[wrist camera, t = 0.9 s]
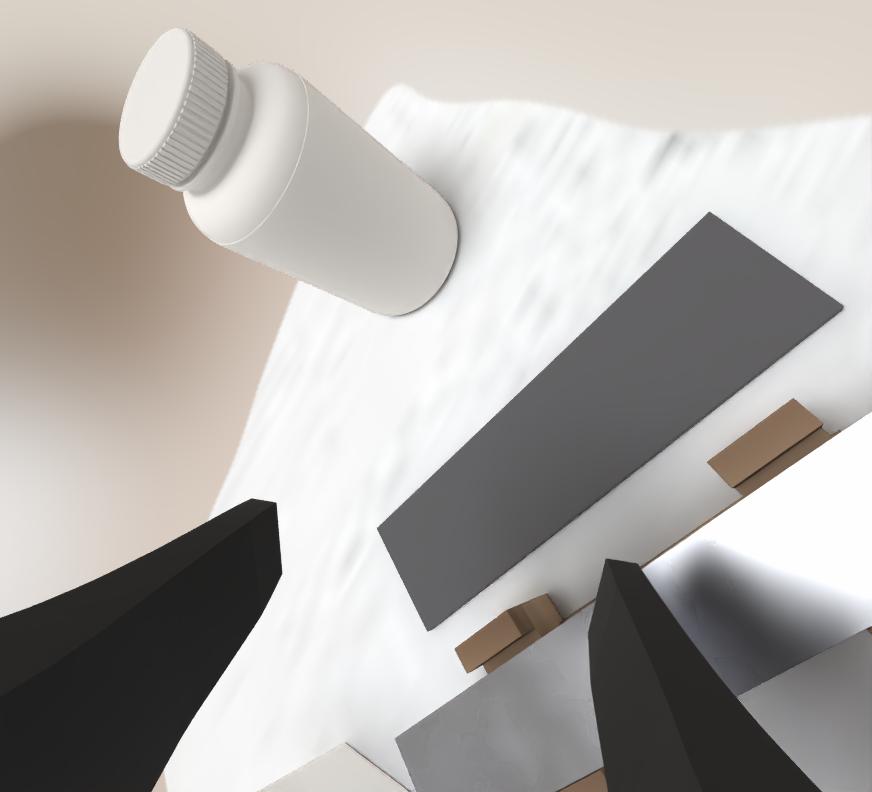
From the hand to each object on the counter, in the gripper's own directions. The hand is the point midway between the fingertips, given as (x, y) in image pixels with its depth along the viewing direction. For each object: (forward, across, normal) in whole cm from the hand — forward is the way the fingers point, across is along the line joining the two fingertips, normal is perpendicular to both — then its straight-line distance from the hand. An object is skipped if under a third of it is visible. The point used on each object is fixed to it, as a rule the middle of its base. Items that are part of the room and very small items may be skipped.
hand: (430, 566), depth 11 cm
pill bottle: (+22, +6, -4) cm, 23 cm away
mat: (+12, -4, +3) cm, 13 cm away
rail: (+5, -8, +5) cm, 11 cm away
